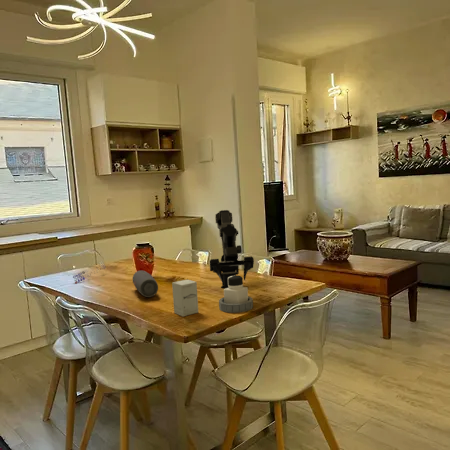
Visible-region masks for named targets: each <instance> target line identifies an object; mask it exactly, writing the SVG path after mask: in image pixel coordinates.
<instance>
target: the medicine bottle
mask: <svg viewBox="0 0 450 450" xmlns="http://www.w3.org/2000/svg"><path fill="white" fill-rule="evenodd" d="M228 287H229V288H223V297H224V303H227V304H240V303H245V302H248V296H249V292H248V291H249V289H248V288H249V287H247V286H244V277H242V276H241V275H236V276H230V277H228Z"/></svg>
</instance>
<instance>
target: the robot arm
mask: <svg viewBox="0 0 450 450" xmlns="http://www.w3.org/2000/svg"><path fill="white" fill-rule="evenodd" d="M214 217H215V224H216V225H217V226H216V227H217V229H218V231H219V238H221V245H222V255H221V257H220V260H219V258H211V259H210V260H209V270H210V271H209V272H213V273H214V274H216V275H217V276H218V278H219V279H220V281H221V286H220V288H221V289H226V288H229V287H228V277H230V276H239V274H240V272H239V268H240V267H239V266H243V282H245V281H246V277H247V274H248V271H251V269H253V268H254V264H255V263H254V262H255V260H254V257H253V256H243V260H238V259H239V254H242V250H243V249H242V245H237V244H236V241H237V236H238V235H239V230H238V229H237V228H236V226H235V224H233V213H232V212H230V210H228V209H224V210H223V209H222V210H219V211H218V212H217V213H216V214H215V215H214Z"/></svg>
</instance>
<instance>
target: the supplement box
mask: <svg viewBox="0 0 450 450" xmlns="http://www.w3.org/2000/svg"><path fill="white" fill-rule="evenodd" d="M197 282H198V281H196V280H195V281H194V280H191V279H183V280H182V279H181V280H178V281H173V282H171V284H172V285H171V286H172V287H171V288H172V299H173V300H172V303H173V313H175V314H176V315H179V316H180V317H186V316H190V315H193V314H198V313H199V300H198V298H199V297H198V284H197Z"/></svg>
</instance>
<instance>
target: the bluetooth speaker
mask: <svg viewBox="0 0 450 450" xmlns="http://www.w3.org/2000/svg"><path fill="white" fill-rule="evenodd" d="M132 283H133V286H134V287H135V289H136V290H137V291H138V292H139V294H141V296H143V297H145V298H151V297H154V296H156V295H157V293H158V291H159V284H158V282H157V280H156V279H155V278H154V277H153V276H152V274H151V273H149V272H147V271H145V270H137V271H136V272H135V273H133V276H132Z"/></svg>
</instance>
